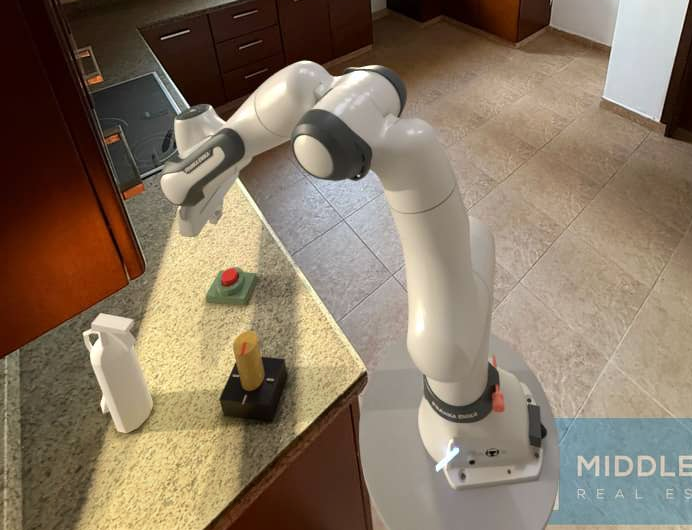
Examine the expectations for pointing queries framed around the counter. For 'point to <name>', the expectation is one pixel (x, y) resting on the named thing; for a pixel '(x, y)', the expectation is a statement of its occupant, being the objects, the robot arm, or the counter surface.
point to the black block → (255, 393)
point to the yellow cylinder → (248, 360)
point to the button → (229, 277)
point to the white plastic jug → (119, 372)
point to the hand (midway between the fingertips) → (216, 219)
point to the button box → (232, 289)
